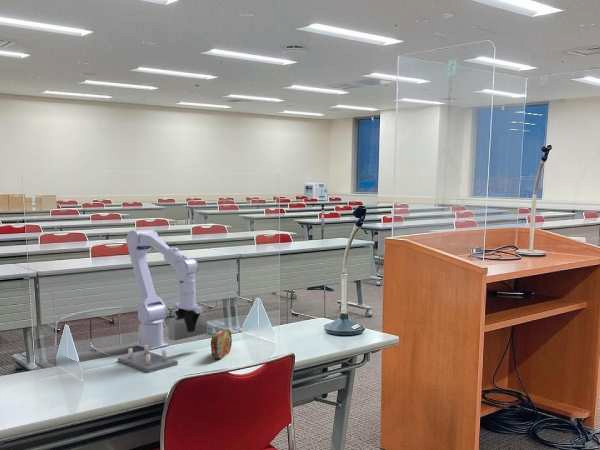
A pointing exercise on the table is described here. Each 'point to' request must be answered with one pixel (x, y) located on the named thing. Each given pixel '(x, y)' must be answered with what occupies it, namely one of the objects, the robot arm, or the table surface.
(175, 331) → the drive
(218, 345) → the tin
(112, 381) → the table surface
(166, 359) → the tray
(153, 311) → the robot arm
